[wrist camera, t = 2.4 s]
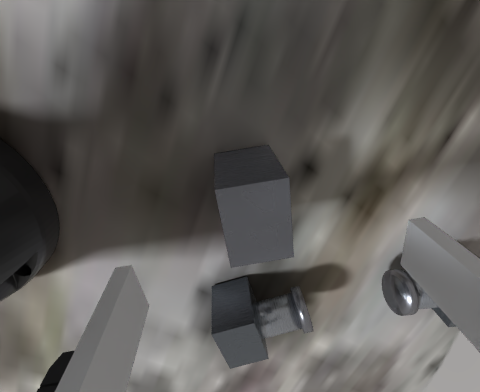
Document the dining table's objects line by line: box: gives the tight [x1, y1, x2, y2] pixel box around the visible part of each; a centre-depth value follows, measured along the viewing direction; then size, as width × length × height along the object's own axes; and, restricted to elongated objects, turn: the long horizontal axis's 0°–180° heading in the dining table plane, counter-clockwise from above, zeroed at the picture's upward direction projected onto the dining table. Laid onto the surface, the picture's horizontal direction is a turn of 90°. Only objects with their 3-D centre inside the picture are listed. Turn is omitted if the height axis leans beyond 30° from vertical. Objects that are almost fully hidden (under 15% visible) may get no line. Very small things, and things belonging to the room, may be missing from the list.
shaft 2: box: [382, 244, 479, 327], centre depth 24 cm, size 8×5×5 cm, turn 90°
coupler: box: [214, 145, 294, 268], centre depth 18 cm, size 6×4×6 cm
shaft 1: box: [212, 277, 313, 369], centre depth 24 cm, size 8×5×5 cm, turn 106°
